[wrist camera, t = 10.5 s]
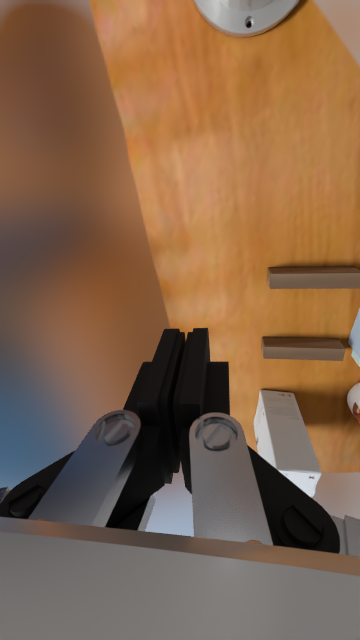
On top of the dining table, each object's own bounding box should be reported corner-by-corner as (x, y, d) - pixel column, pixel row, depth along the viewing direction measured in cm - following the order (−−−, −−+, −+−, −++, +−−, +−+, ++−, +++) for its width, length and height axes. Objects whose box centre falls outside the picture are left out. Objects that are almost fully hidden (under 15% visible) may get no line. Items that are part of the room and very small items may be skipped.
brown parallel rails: (268, 267, 39) (271, 274, 36) (353, 266, 37) (363, 273, 35) (261, 347, 45) (263, 358, 42) (335, 349, 43) (342, 360, 40)
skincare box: (259, 388, 48) (273, 466, 35) (296, 391, 48) (324, 473, 34) (252, 423, 52) (263, 506, 39) (286, 427, 51) (309, 513, 38)
